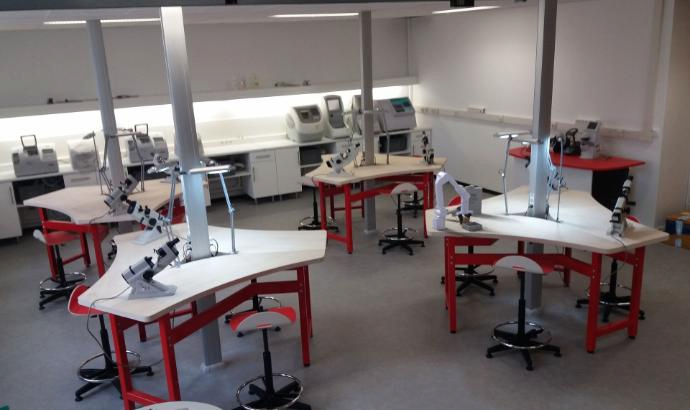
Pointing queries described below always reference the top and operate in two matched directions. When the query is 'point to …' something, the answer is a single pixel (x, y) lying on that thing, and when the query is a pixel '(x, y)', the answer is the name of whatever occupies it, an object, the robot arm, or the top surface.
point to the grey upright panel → (474, 199)
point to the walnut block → (465, 220)
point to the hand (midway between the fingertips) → (464, 222)
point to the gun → (454, 211)
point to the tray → (471, 226)
